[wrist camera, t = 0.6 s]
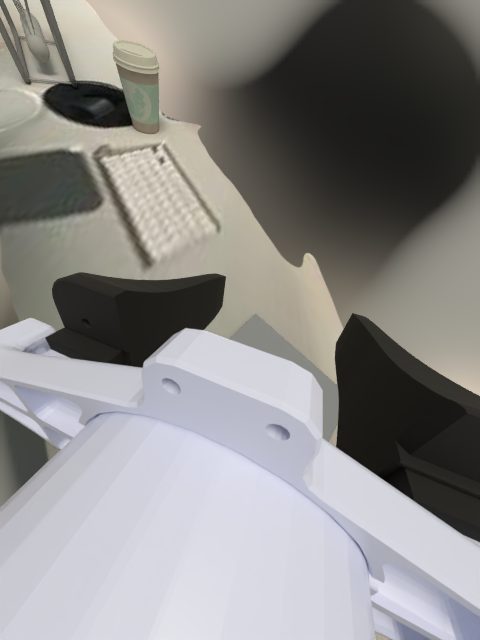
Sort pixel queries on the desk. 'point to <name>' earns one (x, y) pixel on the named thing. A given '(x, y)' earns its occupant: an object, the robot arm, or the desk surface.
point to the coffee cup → (139, 83)
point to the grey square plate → (271, 342)
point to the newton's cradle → (35, 40)
